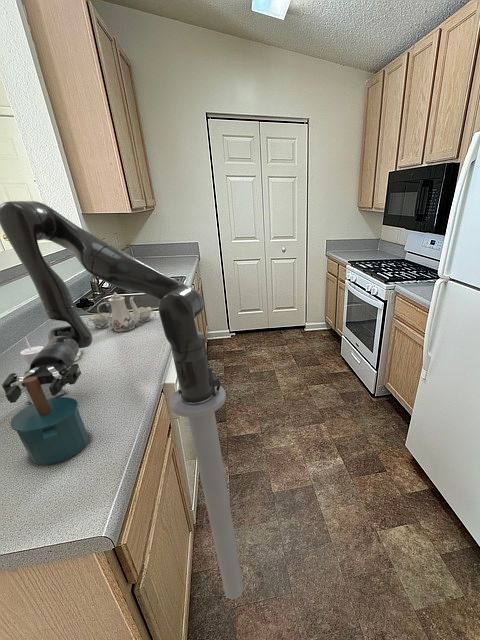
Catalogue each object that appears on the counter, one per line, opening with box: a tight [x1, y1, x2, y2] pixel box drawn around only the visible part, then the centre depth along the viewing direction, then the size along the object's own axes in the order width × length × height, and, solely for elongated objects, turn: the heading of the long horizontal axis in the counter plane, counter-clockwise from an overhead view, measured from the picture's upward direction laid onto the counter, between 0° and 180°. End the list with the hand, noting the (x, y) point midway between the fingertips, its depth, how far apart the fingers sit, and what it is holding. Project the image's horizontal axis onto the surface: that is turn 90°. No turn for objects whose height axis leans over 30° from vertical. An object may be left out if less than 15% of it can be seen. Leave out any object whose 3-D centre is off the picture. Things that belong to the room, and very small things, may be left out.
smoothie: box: [20, 336, 45, 368], centre depth 105 cm, size 6×6×14 cm
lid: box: [9, 377, 79, 432], centre depth 72 cm, size 12×12×10 cm
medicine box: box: [20, 373, 65, 405], centre depth 95 cm, size 8×4×9 cm, turn 145°
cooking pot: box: [16, 407, 90, 466], centre depth 76 cm, size 11×17×10 cm
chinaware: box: [86, 291, 157, 333], centre depth 146 cm, size 28×17×17 cm, turn 122°
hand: (32, 395), depth 69 cm, fingers open, 7 cm apart
